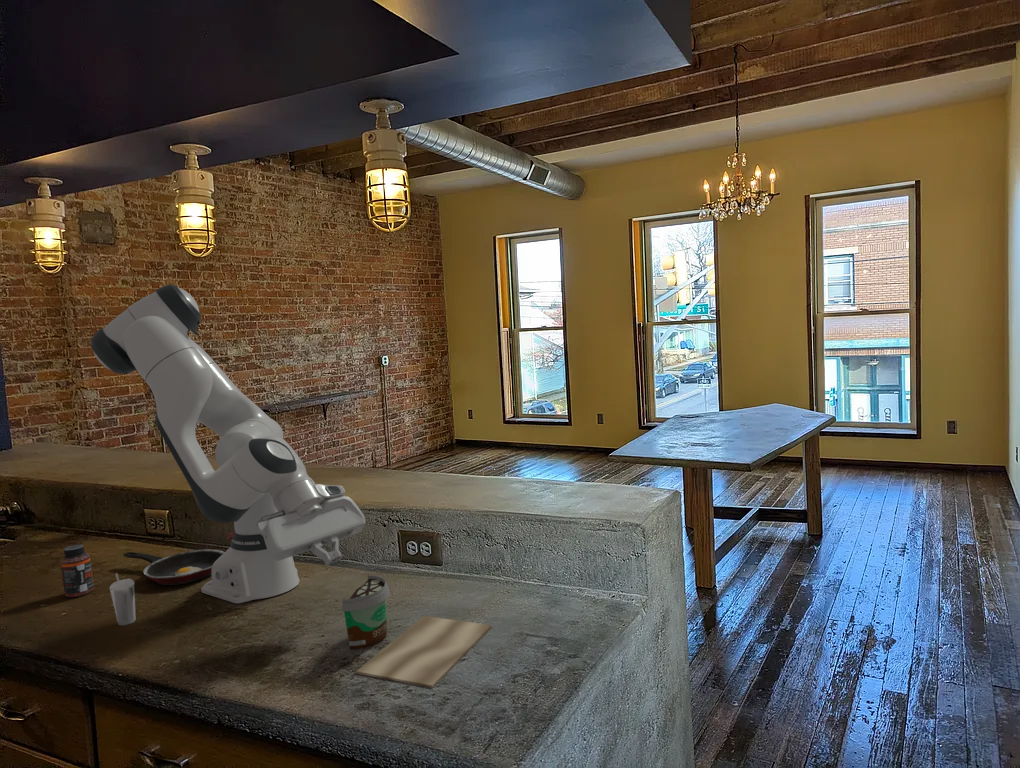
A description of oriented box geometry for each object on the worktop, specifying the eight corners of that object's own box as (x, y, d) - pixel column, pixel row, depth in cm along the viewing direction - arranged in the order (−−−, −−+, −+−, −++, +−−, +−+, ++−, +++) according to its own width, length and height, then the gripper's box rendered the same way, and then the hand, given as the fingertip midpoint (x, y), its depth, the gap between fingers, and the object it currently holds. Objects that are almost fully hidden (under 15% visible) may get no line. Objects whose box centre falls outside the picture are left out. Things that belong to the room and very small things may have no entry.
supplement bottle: (93, 594, 161) (86, 548, 160) (63, 600, 159) (56, 553, 158) (95, 586, 167) (89, 541, 166) (67, 592, 164) (60, 546, 163)
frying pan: (181, 593, 158) (179, 578, 158) (92, 579, 172) (90, 565, 172) (244, 564, 175) (242, 550, 175) (158, 553, 189) (156, 540, 189)
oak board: (356, 673, 116) (356, 671, 116) (423, 617, 136) (423, 615, 136) (432, 687, 110) (432, 685, 110) (491, 627, 130) (491, 625, 130)
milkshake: (134, 614, 148) (128, 569, 147) (142, 621, 144) (136, 575, 143) (110, 622, 145) (104, 576, 144) (118, 629, 141) (111, 582, 140)
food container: (378, 654, 122) (373, 601, 121) (346, 653, 124) (341, 600, 123) (402, 623, 134) (398, 574, 133) (373, 622, 136) (368, 574, 135)
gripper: (257, 509, 128) (290, 570, 123) (349, 483, 143) (382, 536, 138) (248, 529, 132) (280, 588, 126) (339, 502, 147) (371, 554, 141)
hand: (334, 561), depth 132 cm, fingers closed
